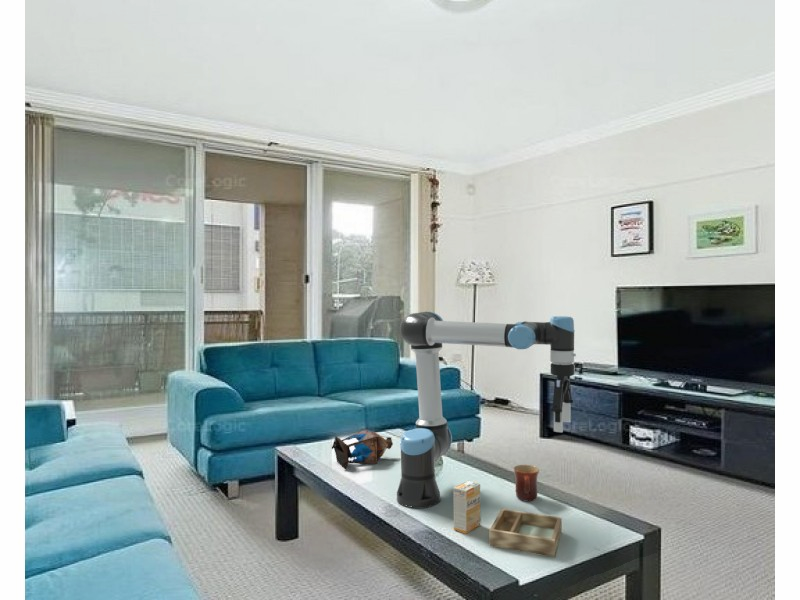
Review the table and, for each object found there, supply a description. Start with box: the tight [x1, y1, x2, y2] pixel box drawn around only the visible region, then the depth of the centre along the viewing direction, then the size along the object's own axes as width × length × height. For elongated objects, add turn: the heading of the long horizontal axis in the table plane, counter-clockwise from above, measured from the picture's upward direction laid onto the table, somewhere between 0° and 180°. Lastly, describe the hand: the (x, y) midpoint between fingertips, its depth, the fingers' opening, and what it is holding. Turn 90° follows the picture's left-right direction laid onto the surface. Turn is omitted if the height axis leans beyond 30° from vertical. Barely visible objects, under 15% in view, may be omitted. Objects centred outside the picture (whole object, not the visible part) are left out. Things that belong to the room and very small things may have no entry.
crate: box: [488, 508, 563, 558], centre depth 157 cm, size 18×16×4 cm
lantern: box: [331, 428, 394, 470], centre depth 230 cm, size 16×16×25 cm
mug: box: [513, 464, 540, 502], centre depth 185 cm, size 12×9×10 cm
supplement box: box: [453, 480, 481, 535], centre depth 165 cm, size 8×5×13 cm, turn 139°
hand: (562, 426), depth 179 cm, fingers open, 13 cm apart
